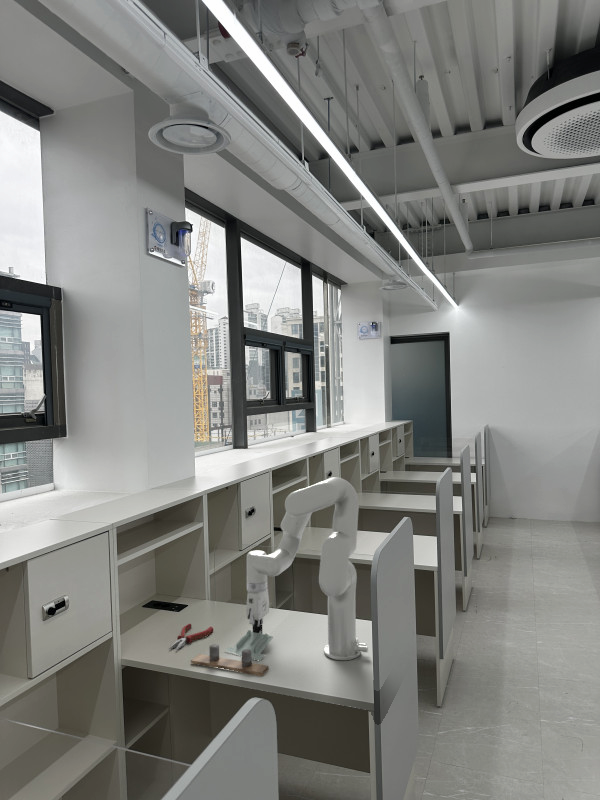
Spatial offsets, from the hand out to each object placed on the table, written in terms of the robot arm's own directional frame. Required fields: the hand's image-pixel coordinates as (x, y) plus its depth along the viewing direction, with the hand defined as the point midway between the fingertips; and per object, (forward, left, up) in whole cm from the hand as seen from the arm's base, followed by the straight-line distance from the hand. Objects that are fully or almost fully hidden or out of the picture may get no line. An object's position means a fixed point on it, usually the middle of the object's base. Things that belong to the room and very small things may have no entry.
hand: (257, 635), depth 203 cm
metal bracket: (-2, +8, -2) cm, 8 cm away
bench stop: (0, +22, -1) cm, 22 cm away
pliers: (+26, +7, -2) cm, 27 cm away
